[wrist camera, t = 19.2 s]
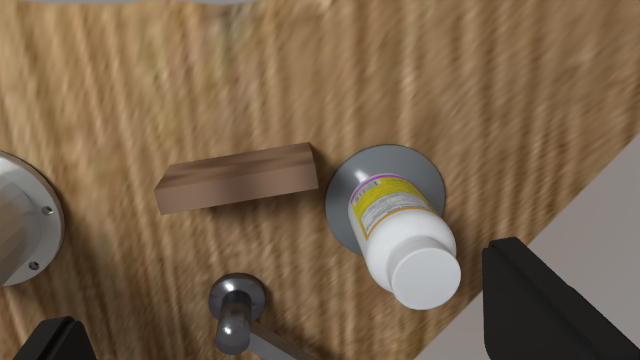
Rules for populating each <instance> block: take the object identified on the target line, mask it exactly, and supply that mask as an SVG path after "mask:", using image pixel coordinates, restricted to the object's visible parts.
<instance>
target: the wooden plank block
mask: <svg viewBox="0 0 640 360" xmlns="http://www.w3.org/2000/svg"><path fill="white" fill-rule="evenodd" d="M317 188H319V187H318V180H317V174H316V168H315V162H314V159H313V155H312V152H311V148H310V145H309V142H307V143H301V144H295V145H289V146H283V147H277V148H271V149H265V150H259V151H253V152H247V153H241V154H235V155H229V156H223V157H217V158H211V159H205V160H199V161H193V162H187V163H181V164H175V165H170V166H169V168H168V169H167V171H166V172H165V174H164V176H163V177H162V179H161V180H160V182H159V183H158V185H157V187H156V188H155V190H154V193H155V196H156V200H157V203H158V207H159V210H160V214H161V215H165V214H171V213H177V212H182V211H188V210H194V209H200V208H206V207H212V206H218V205H223V204H229V203H235V202H241V201H247V200H253V199H259V198H264V197H270V196H276V195H282V194H288V193H294V192H300V191H305V190H311V189H317Z"/></svg>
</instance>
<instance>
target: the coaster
mask: <svg viewBox="0 0 640 360" xmlns="http://www.w3.org/2000/svg"><path fill="white" fill-rule="evenodd" d="M383 173H393V174H397V175H400V176H402V177H404V178H406V179H407V180H409V181H410V182H411V183H412V184H413V185H414V186H415V187H416V188H417V189H418V191H419V192H420V193H421V194H422V195H423V197H424V198H425V199H426V200H427V202H428V203H429V204H430V205H431V206H432V207H433V209H434V210H435V211H436V212H437V213H438V215H439V216H440V217H441V216H442V213H443V209H444V203H445V191H444V185H443V182H442V179H441V177H440V174H439V173H438V171H437V169H436V168H435V167H434V165H433V164H432V163H431V162H430V161H429V160H428V159H427V158H426V157H424V156H423V155H422V154H420V153H419V152H417V151H415V150H413V149H411V148H408V147H405V146H401V145H395V144H384V145H377V146H372V147H369V148H366V149H363V150H361V151H359V152H357V153H355V154H354V155H353V156H351V157H350V158H348V159H347V160H346V161H345V162H344V163H343V164H342V165H341V166H340V167H339V168H338V169H337V171H336V172H335V174H334V175H333V177H332V179H331V181H330V183H329V185H328V188H327V192H326V197H325V213H326V217H327V221H328V224H329V226H330V229H331V231H332V232H333V234H334V236H335V237H336V238H337V239H338V241H339V242H340V243H341V244H342V245H344V246H345V247H346V248H348V249H349V250H351V251H353V252H355V253H357V254H359V255H362V256H363V254H362V251H361V249H360V246H359V243H358V241H357V238H356V236H355V233H354V231H353V228H352V226H351V223H350V220H349V215H348V205H349V200H350V198H351V195H352V193H353V192H354V190H355V189H356V187H357V186H358V185H359V184H360V183H362V182H363V181H364V180H366V179H367V178H369V177H371V176H374V175H377V174H383Z"/></svg>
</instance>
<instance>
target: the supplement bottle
mask: <svg viewBox="0 0 640 360" xmlns="http://www.w3.org/2000/svg"><path fill="white" fill-rule="evenodd" d="M348 215H349V220H350V223H351V226H352V228H353V231H354V233H355V236H356V238H357V241H358V243H359V246H360V249H361V251H362V254H363V257H364V259H365V262H366V265H367V267H368V270H369V272H370V274H371V276H372V277H373V279H374V280H375V281H376V282H377V283H378V284H379V285H380V286H381V287H383V288H384V289H386V290H388V291H390V292H392V293H394V295H395V297H396V298H397V299H398V300H399V301H400V302H401V303H402V304H403V305H405V306H407V307H409V308H412V309H417V310H426V309H431V308H435V307H438V306H440V305H442V304H443V303H445V302H446V301H448V300H449V299H450V298H451V297H452V296H453V294H454V293H455V292H456V290H457V288H458V286H459V283H460V279H461V270H460V266H459V264H458V262H457V260H456V259H455V257H456V242H455V238H454V236H453V233H452V231H451V230H450V228H449V227H448V225H447V224H446V223H445V222H444V220H443V219H442V218H441V217H440V216H439V215H438V213H437V212H436V211H435V210H434V209H433V207H432V206H431V205H430V204H429V203H428V202H427V200H426V199H425V198H424V197H423V195H422V194H421V193H420V192H419V191H418V189H417V188H416V187H415V186H414V185H413V184H412V183H411V182H410V181H409V180H407V179H406V178H404V177H402V176H400V175H397V174H393V173H383V174H377V175H374V176H371V177H369V178H367V179H366V180H364V181H363V182H362V183H360V184H359V185H358V186H357V187H356V189H355V190H354V192H353V193H352V195H351V198H350V200H349V205H348Z"/></svg>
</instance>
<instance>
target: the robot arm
mask: <svg viewBox="0 0 640 360" xmlns="http://www.w3.org/2000/svg"><path fill="white" fill-rule="evenodd" d="M49 207H50V208H51V209H50V208H49ZM64 231H65V222H64V214H63V210H62V207H61V204H60V201H59V199H58V198H57V196H56V194H55V192H54V190H53V189H52V188H51V186H50V185H49V184H48V183H47V181H46V180H45V179H44V178H43V177H42V176H41V175H40V174H39V173H38V172H37V171H36V170H34V169H33V168H32V167H31V166H29V165H28V164H26V163H24V162H23V161H21V160H20V159H18V158H16V157H14V156H11V155H9V154H7V153H5V152H2V151H0V288H1V287H3V286H11V285H15V284H18V283H22V282H24V281H26V280H29V279H31V278H33V277H35V276H36V275H37V274H39V273H40V272H41V271H43V270H44V269H45V268H46V267H47V266H48V265H49V264H50V262H51V261H52V260H53V259H54V257H55V256H56V254H57V253H58V252H59V250H60V247H61V244H62V242H63V239H64ZM482 274H483V313H484V343H485V348H486V351H487V353H488V356H489V357H490V359H491V360H640V349H639V348H638V347H637V346H636V345H635V344H633V343H632V342H631V341H630V340H629V339H628V338H627V337H626V336H625V335H624V334H623V333H621V331H619V330H618V329H617V328H616V327H615V326H614V325H613V324H612V323H611V322H610V321H609V320H608V319H606V318H605V317H604V316H603V315H602V314H601V313H600V312H599V311H598V310H596V308H595V307H593V306H592V305H591V304H590V303H589V302H588V301H587V300H586V299H585V298H584V297H583V296H582V295H581V294H579V293H578V292H577V291H576V290H575V289H574V288H572V287H571V286H569V285H567V284H566V283H565V282H564V281H563V280H562V279H561V278H560V277H559V276H558V275H557V274H556V273H555V272H554V271H552V270H551V269H550V268H549V267H548V266H547V265H546V264H545V263H544V262H543V261H542V260H541V259H540V258H538V257H537V256H536V255H535V254H534V253H533V252H532V251H531V250H530V249H529V248H528V247H527V246H526V245H525V244H523V243H522V242H521V241H520V240H519V239H518V238H516V237H509V238H504V239H498V240H492V241H490V242H489V246H488V248H484V249H483V251H482ZM13 360H97V359H96V356H95V354H94V351H93V348H92V346H91V343H90V341H89V338H88V336H87V333H86V330H85V328H84V326H83V324H82V323H81V322H80V321H75V320H74V319H73V318H72V317H70V316H66V317H61V318H55V319H49V320H44V321H42V322H41V323H39V325H38V326H37V327H36V329H35V330H34V331H33V333H32V334H31V335H30V337H29V338H28V340H27V341H26V342H25V344H24V345H23V346H22V348H21V349H20V350H19V352H18V353H17V354H16V356H15V357H14V359H13Z"/></svg>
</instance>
